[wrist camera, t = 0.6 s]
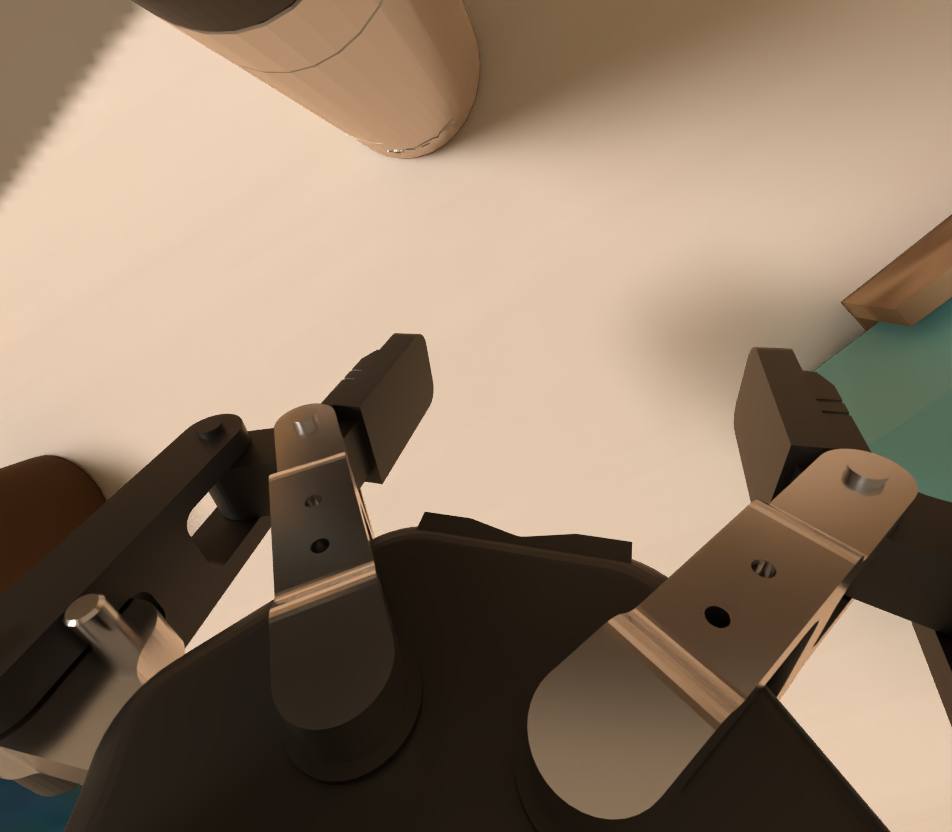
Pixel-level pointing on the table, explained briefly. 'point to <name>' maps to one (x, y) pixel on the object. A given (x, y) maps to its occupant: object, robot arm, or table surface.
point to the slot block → (908, 283)
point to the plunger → (903, 395)
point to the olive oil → (40, 511)
